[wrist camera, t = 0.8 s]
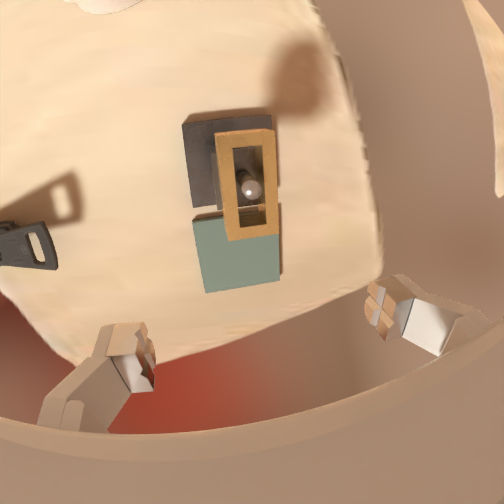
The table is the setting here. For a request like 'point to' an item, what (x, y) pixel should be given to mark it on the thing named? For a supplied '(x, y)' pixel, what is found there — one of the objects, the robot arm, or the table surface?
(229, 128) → the pin stand
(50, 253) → the zipper pull
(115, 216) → the table surface
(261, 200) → the wooden rectangular frame
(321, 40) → the table surface
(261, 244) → the rubber mat
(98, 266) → the table surface
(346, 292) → the table surface
